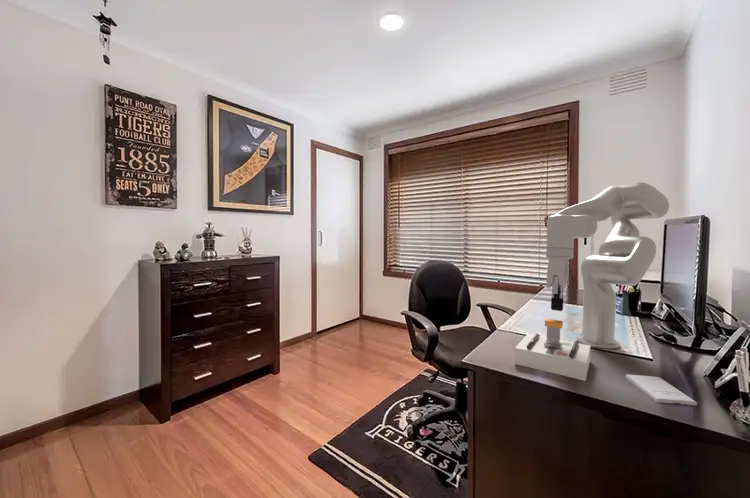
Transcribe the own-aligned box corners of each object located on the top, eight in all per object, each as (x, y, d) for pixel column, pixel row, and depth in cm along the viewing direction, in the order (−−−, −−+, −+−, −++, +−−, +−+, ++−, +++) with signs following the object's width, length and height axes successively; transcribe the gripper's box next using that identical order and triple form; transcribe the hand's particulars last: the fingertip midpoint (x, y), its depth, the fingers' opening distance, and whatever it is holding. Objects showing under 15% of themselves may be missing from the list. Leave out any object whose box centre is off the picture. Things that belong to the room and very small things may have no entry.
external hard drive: (659, 382, 85) (697, 408, 73) (625, 379, 87) (656, 404, 75) (659, 376, 85) (697, 401, 73) (625, 374, 87) (656, 397, 74)
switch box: (526, 348, 109) (527, 330, 108) (589, 361, 98) (590, 341, 97) (514, 363, 96) (515, 343, 96) (585, 380, 85) (586, 358, 85)
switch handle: (546, 342, 99) (546, 318, 99) (562, 345, 97) (563, 320, 96) (544, 345, 96) (544, 321, 96) (560, 349, 94) (561, 323, 93)
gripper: (550, 252, 109) (547, 304, 110) (541, 253, 97) (539, 312, 98) (575, 253, 105) (573, 307, 106) (570, 255, 93) (567, 316, 94)
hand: (556, 309), depth 102 cm, fingers closed
